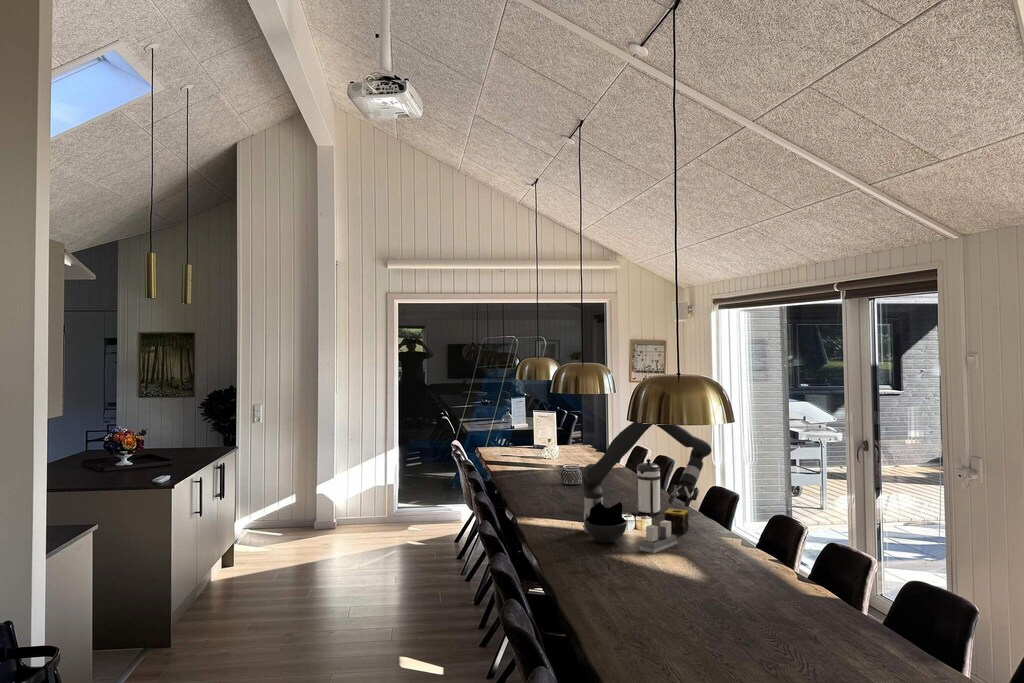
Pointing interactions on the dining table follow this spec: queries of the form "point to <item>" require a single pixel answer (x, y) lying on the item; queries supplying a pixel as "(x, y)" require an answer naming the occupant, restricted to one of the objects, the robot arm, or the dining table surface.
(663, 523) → the tall off-white block
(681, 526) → the candle
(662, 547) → the gray compartment block tray
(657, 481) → the coffee press
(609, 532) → the coal bowl
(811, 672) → the dining table surface
